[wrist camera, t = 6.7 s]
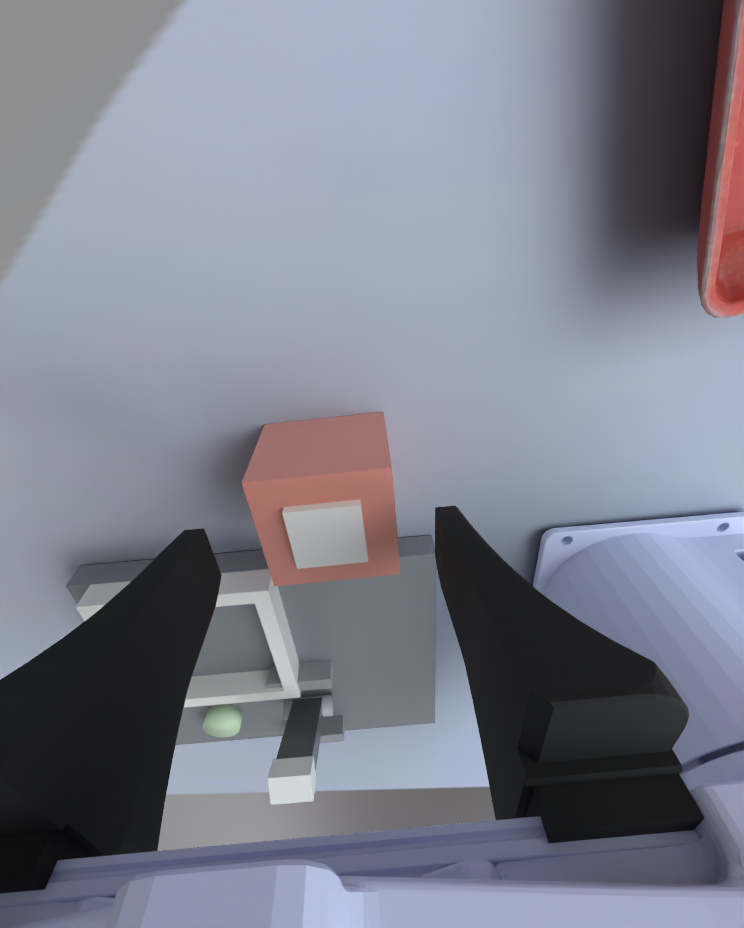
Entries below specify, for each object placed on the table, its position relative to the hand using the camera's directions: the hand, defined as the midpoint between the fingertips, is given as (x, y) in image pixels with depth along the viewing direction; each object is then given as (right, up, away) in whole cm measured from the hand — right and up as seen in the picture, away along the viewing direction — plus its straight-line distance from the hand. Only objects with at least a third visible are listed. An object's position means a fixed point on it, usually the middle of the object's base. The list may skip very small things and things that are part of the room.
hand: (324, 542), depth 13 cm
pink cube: (0, +2, +4) cm, 5 cm away
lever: (-2, -11, +10) cm, 15 cm away
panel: (-3, -7, +10) cm, 13 cm away
